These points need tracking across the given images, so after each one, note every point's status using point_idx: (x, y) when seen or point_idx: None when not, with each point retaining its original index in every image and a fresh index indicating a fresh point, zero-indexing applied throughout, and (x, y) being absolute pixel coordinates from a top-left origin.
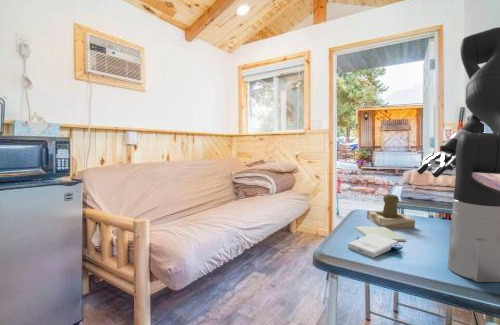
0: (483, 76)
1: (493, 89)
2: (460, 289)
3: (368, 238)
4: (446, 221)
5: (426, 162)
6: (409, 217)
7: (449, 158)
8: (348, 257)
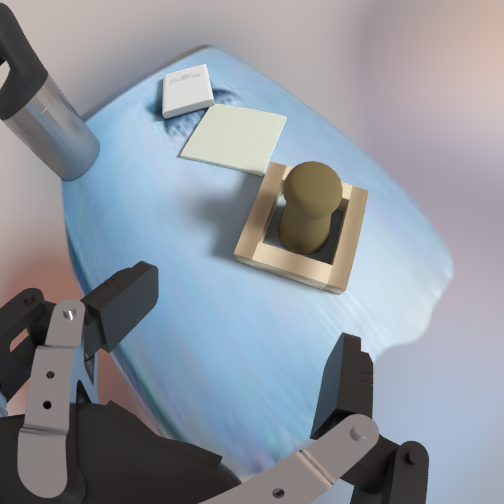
0: None
1: None
2: None
3: (199, 85)
4: (254, 444)
5: (325, 434)
6: (263, 262)
7: (13, 416)
8: (184, 62)
